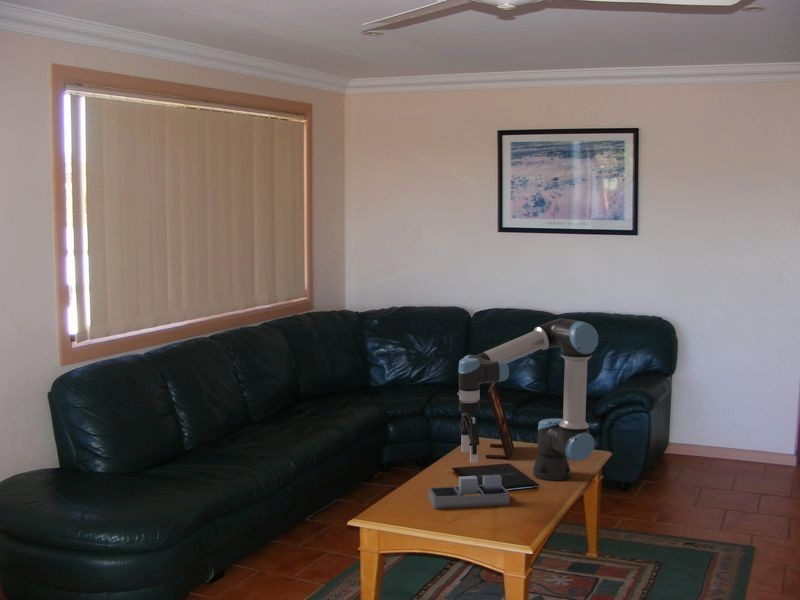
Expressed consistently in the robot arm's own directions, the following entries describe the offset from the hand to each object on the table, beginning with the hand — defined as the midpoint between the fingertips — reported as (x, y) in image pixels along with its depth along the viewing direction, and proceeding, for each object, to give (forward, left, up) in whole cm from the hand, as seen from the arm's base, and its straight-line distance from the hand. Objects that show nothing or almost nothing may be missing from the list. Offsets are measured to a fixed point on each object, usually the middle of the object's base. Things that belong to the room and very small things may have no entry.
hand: (469, 457), depth 334 cm
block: (0, 0, -16) cm, 16 cm away
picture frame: (-29, -61, -17) cm, 70 cm away
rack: (0, 0, -17) cm, 17 cm away
